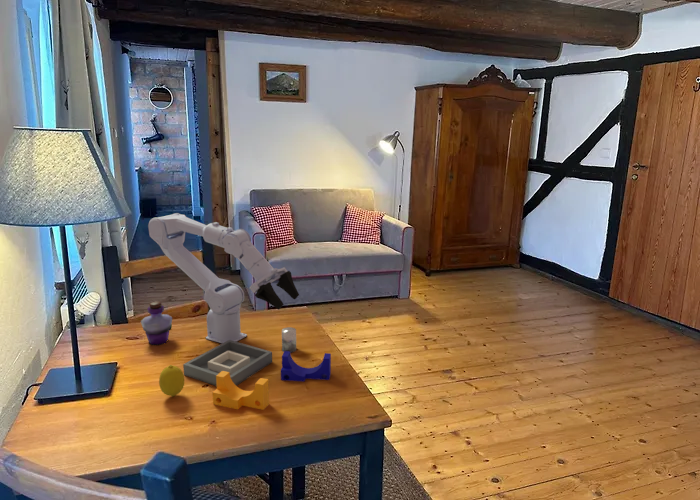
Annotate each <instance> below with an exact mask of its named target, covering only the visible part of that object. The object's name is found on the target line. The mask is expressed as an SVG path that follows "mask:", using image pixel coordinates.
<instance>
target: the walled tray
mask: <svg viewBox="0 0 700 500" xmlns="http://www.w3.org/2000/svg"><path fill="white" fill-rule="evenodd" d="M271 363H273V352H272V351H271V350H268V349H267V350H266V349H263V348H259V347H256V346H253V345H249V344H245V343H242V342H239V341H237V342H236V341H232V340H228V341H226V342H224V343H220V344H219V345H217V346H215V347H213V348H211V349H209V350H207V351H205V352H204V353H202V354H200V355H198V356H196V357H194V358H192V359H190V360H189V361H187V362H184V363H183V364H182V366H183V368H182V369H183V375H184V377H185V376H186V377H189V378H192V379H194V380H197V381H201V382H202V383H205V384H209V385H212V386H214V387H217V384H216V375H218V374H219V373H220V372H221V371H226V372H229V373H230V377H231V380H232V381H233V383H234V384H235V385H236V386H237V387H238V385H240V384H241V383H243V382H245V381H246V380H248V379H249V378H250V377H252V376H253V375H255V374H256V373H258V372H260V371H261V370H262V369H264V368H265V367H267V366H268V365H270V364H271Z"/></svg>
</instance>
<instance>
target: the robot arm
mask: <svg viewBox="0 0 700 500" xmlns="http://www.w3.org/2000/svg"><path fill="white" fill-rule="evenodd" d="M147 228H148V234H149V238H151V239H152V240H153V241H154V242H155V243H157V245H158V246H159V247H160V249H161V251H162V253H163V254H164V255H165V256H166V257H167V258H168V259H169V260H170V261H171V262H172V263H174V264H175V266H176V267H178V269H180V270H182V271H181V272H183V273H184V274H185V275H187V276H188V278H190V279H191V280H192V281H193V282H194V283H195V284H196V285H197V286H199V287H200V289H202V290H203V291H204V295H203V300H204V302H206V304H207V305H208V307H209V311H208V312H207V314H206V331H207V333H206V334H207V336H205V339H206V340H208V341H209V340H210V341H212V342H216V343H220V344H222V343H224V342H226V341H228V340H232V341H236V342H239V341H241V340H242V339H244V338H245V337H247V336H248V334H247V333H243V332H241V331H242V330H241V314H240V313H241V311H240V310H241V304H242V303H243V302H244V301H245V292H244V290H243V289H242V287H241V286H240V285H238V284H236V283H233V282H231V281H230V280H229V279H223V278H220V277H218V276H217V275H216V274H215V273H214V272H213V271H212V270H211V269H210V268H208V267H207V266H206V265H205V264H204V263H203V262H202V261H201V260H200V259H198V257H196V255H194V254H193V253H191V252H190V250H188V249H187V248H186V247H185V246H184V242H185V239H186V233H187V234H191V235H196V236H199V237H203V240H204V242H205V243H208V244H211V245H214V246H218V247H220V248H223V249H224V252H225V253H226V254H229V255H232V256H233V257H234V258H235V259H238V261H239V262H240V263H241V264H242V266H244V268H245V269H246V270H247V271H248V272H249V274H251V276H252V277H253V278H254V279H255V280H256V281H255V282H254V283H252V284H251V285H250V286H249V289H250V290H251V292H252V293H253V294H254V293H255V294H254V296H255V298H256V299H259V300H262V301H264V302H265V303H266V302H267V304H270V305H271V306H273V307H274V308H276V309H277V310H280V309H281V308H282V307H283V306H284V302H283V301H282V300H281V298H280V297H279V295H278V294H277V293H276V291H275V289H274V287H273V285H272V283H274V282H275V281H277V283H276V284H275V285H276V286H277V287H279V288H281V289H282V290H283V291H284V292H285V293H287V295H288V296H289V297H290V298H292V300H296V299H297V298H298V296H300V293H299V290H297V287H296V285H295V282H294V280H293V277H292V272H291V271H290V270H287V268H286V267H284V266H283V267H281V268H277V267H275V268H274V267H273V266H272V265H271V263H269V261H268V260H267V259H266V258H265V257H264V256H263V254H262V253H261V251H259V250H258V249H257V248H256V247H255V245H254V244H253V243H252V237H251V235H250V234H249V232H248V231H247V230H245V229H243V228H239V229H235V230H234V229H233V227H230V226H228V227H226V226H223V225H220V222H217V221H215V222H210V223H208V224H204V223H202V222H199V221H197V220H194V219H192V218H189V217H187V216H186V215H185V214H181V213H179V212H175V213H172V214H169V215H165V216H158V217H153V218H151V219H150V220H149V222H148V225H147Z"/></svg>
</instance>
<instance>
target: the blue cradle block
mask: <svg viewBox="0 0 700 500" xmlns="http://www.w3.org/2000/svg"><path fill="white" fill-rule="evenodd" d="M291 354H292V353H290V351H284V352H283V353H282V355H281V369H280V381H289V382H303V383H304V382H305V381H306V380H307V379H308V380H310V379H311V380H325V381H326V380H327V381H330V378H331V374H332V373H331V371H332V369H331V368H332V367H331V366H332V365H331V364H332V363H331V362H332V356H331V353H324V355H323V359H322V361H321V362H320V364H317V366H315V367H303V366H300V365H299V364H297V363H296V362H295V360H294V358H293V357H292V355H291Z"/></svg>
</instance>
